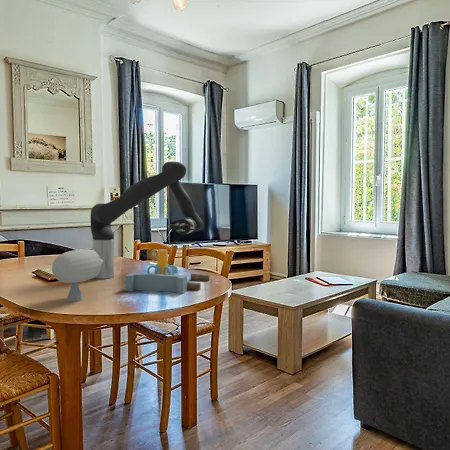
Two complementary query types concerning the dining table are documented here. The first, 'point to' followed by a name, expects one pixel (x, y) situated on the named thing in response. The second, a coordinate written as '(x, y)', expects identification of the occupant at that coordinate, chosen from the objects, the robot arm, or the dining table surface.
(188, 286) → the roller
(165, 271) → the yellow block with rings
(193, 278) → the roller
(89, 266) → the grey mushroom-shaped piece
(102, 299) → the dining table surface
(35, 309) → the dining table surface
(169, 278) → the stop rail
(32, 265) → the dining table surface
